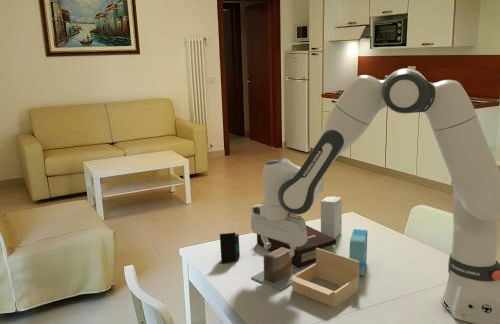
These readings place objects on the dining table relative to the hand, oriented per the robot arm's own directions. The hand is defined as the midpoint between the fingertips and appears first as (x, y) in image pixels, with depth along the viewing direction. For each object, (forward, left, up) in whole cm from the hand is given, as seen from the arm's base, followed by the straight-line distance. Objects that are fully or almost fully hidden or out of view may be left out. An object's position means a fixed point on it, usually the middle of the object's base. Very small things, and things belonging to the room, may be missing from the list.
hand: (278, 252), depth 145 cm
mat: (0, 0, -9) cm, 9 cm away
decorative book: (+10, -21, -10) cm, 25 cm away
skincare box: (+7, -41, -9) cm, 42 cm away
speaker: (+22, 0, -9) cm, 24 cm away
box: (0, 0, -8) cm, 8 cm away
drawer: (-16, -2, -9) cm, 18 cm away
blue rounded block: (-16, -22, -9) cm, 28 cm away
